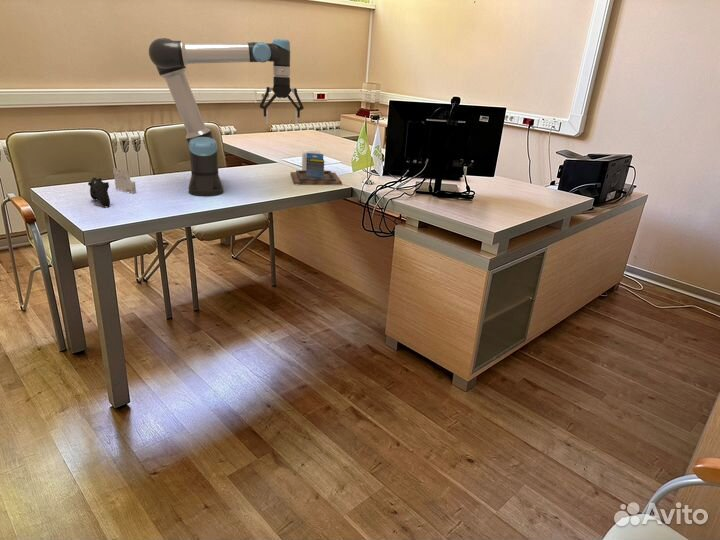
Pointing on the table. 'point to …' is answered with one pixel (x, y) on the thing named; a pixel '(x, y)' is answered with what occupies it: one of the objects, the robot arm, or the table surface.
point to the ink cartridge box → (124, 181)
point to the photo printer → (306, 156)
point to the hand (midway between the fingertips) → (281, 124)
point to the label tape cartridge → (314, 165)
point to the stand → (328, 178)
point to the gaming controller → (99, 191)
